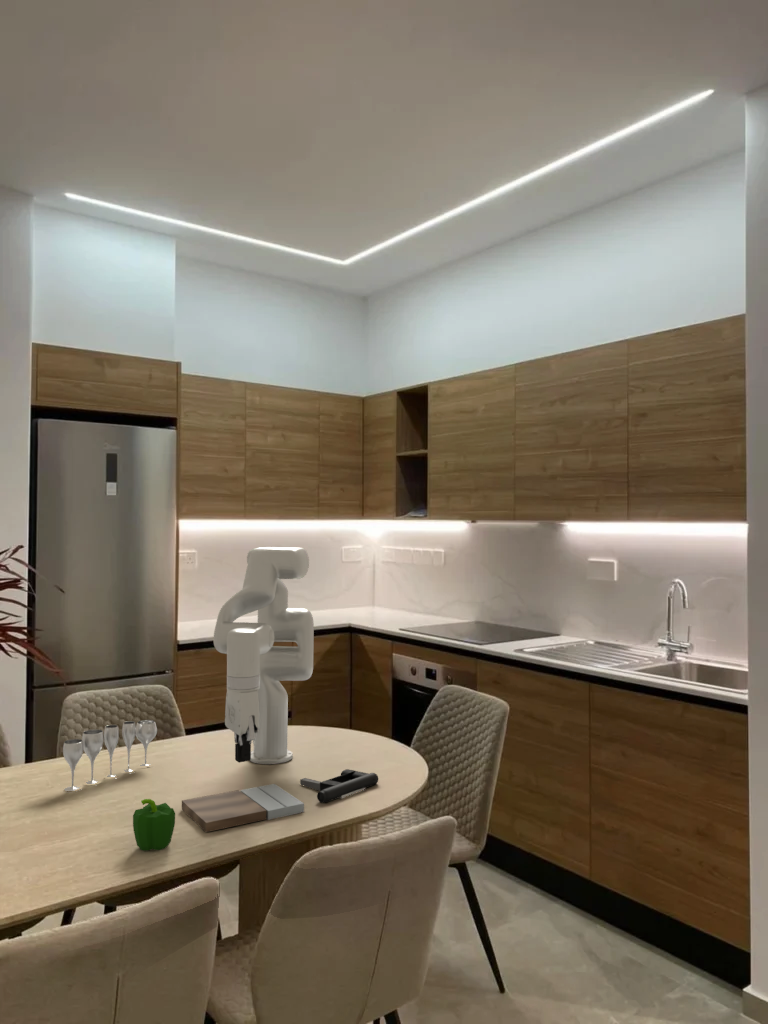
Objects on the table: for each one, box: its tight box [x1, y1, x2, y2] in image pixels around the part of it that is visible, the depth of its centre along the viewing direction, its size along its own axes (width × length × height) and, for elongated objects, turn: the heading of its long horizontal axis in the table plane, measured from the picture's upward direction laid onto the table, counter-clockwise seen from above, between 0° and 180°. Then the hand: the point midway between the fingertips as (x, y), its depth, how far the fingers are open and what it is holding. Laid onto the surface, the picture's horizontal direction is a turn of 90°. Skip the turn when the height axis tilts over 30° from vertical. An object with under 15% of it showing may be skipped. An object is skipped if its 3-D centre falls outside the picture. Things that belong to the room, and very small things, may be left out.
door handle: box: [299, 768, 379, 803], centre depth 197 cm, size 3×20×16 cm
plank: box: [181, 789, 267, 833], centre depth 178 cm, size 16×14×2 cm
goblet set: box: [62, 719, 158, 791], centre depth 204 cm, size 28×6×13 cm, turn 147°
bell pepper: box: [132, 798, 176, 852], centre depth 160 cm, size 8×8×10 cm
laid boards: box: [239, 783, 305, 821], centre depth 184 cm, size 16×9×2 cm, turn 33°
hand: (242, 760), depth 181 cm, fingers closed
